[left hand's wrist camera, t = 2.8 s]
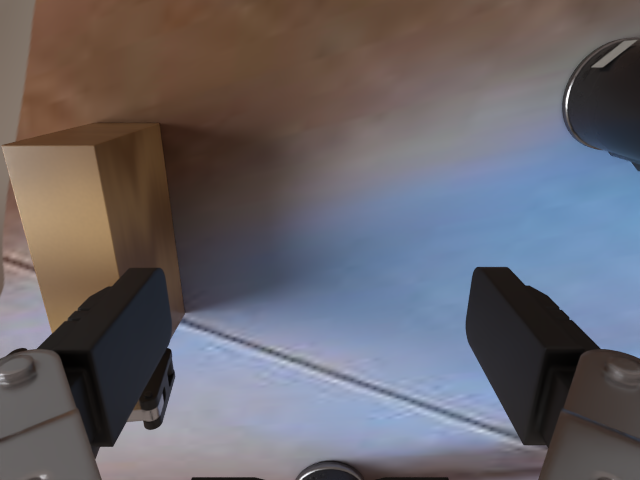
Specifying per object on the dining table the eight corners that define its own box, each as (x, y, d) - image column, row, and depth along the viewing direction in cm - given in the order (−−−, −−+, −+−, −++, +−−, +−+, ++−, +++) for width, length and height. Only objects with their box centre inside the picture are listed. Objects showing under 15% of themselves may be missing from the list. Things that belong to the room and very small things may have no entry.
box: (92, 122, 40) (0, 145, 28) (159, 122, 40) (94, 145, 28) (128, 313, 47) (67, 392, 36) (185, 313, 47) (141, 392, 36)
